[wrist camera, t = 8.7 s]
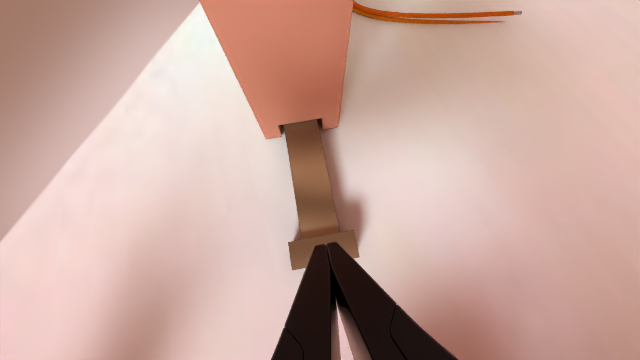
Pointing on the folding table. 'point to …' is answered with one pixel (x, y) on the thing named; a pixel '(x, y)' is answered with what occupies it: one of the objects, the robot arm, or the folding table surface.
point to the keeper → (285, 56)
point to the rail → (312, 195)
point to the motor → (426, 16)
